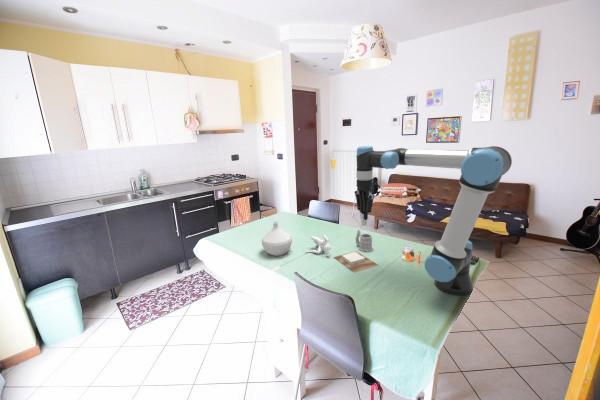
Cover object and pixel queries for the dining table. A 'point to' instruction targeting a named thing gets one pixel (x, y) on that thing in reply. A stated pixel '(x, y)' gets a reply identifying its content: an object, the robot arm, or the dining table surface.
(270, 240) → the vase
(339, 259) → the board
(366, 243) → the mug
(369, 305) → the dining table surface
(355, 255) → the tile
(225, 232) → the dining table surface
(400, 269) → the dining table surface
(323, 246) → the person figurine
